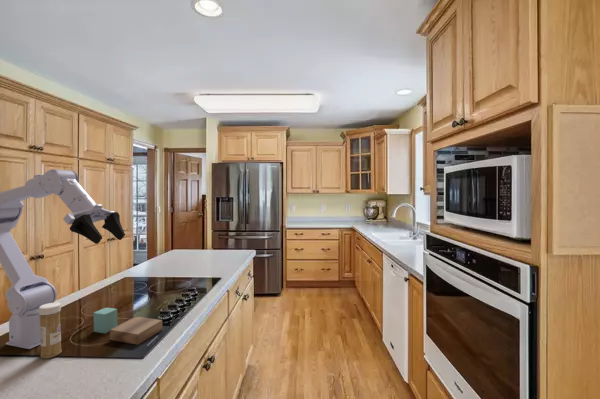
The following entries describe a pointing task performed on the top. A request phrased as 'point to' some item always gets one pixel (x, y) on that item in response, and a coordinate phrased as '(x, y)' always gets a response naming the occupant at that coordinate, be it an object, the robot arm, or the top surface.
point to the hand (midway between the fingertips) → (111, 239)
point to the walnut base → (136, 330)
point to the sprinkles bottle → (50, 330)
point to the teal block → (105, 320)
